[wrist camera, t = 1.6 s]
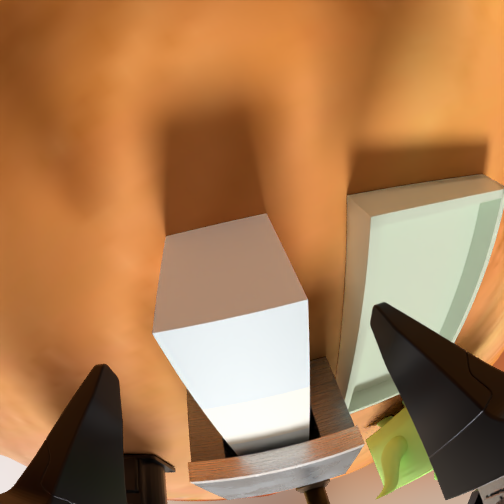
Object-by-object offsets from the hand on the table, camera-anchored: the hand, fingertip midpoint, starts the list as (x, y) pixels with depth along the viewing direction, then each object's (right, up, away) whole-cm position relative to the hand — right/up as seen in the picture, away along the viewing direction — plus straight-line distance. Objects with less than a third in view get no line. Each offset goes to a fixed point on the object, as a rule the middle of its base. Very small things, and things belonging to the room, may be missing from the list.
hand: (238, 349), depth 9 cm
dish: (+10, -1, +8) cm, 13 cm away
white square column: (0, -1, +6) cm, 6 cm away
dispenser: (+1, -8, +11) cm, 13 cm away
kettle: (+20, -15, +19) cm, 32 cm away
